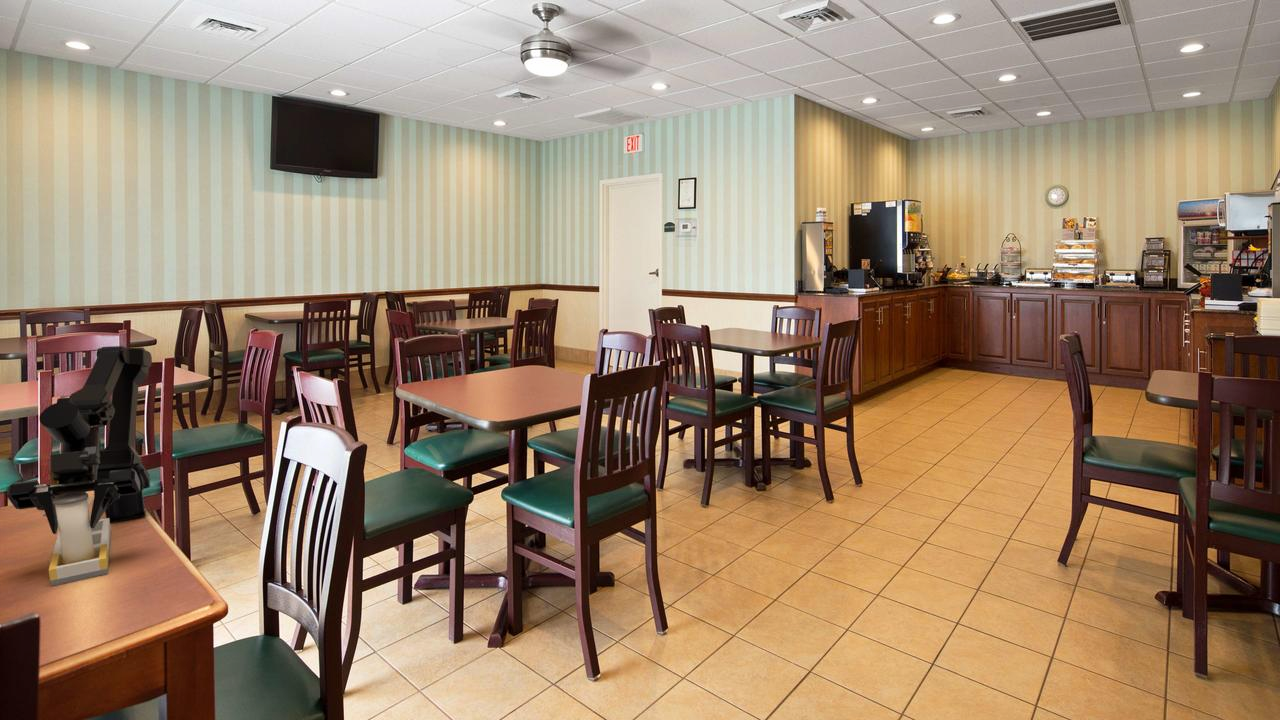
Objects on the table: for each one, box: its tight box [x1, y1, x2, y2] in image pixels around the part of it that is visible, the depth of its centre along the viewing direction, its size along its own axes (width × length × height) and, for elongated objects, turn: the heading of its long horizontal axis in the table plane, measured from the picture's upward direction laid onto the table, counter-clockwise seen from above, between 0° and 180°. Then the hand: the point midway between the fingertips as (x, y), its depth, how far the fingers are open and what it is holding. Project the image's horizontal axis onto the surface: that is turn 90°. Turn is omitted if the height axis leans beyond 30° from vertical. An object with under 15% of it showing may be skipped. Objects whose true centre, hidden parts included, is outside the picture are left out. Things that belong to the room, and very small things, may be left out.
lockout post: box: [53, 492, 95, 565], centre depth 128 cm, size 5×5×13 cm
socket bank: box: [48, 517, 112, 587], centre depth 135 cm, size 8×24×3 cm, turn 35°
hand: (73, 530), depth 126 cm, fingers open, 5 cm apart
